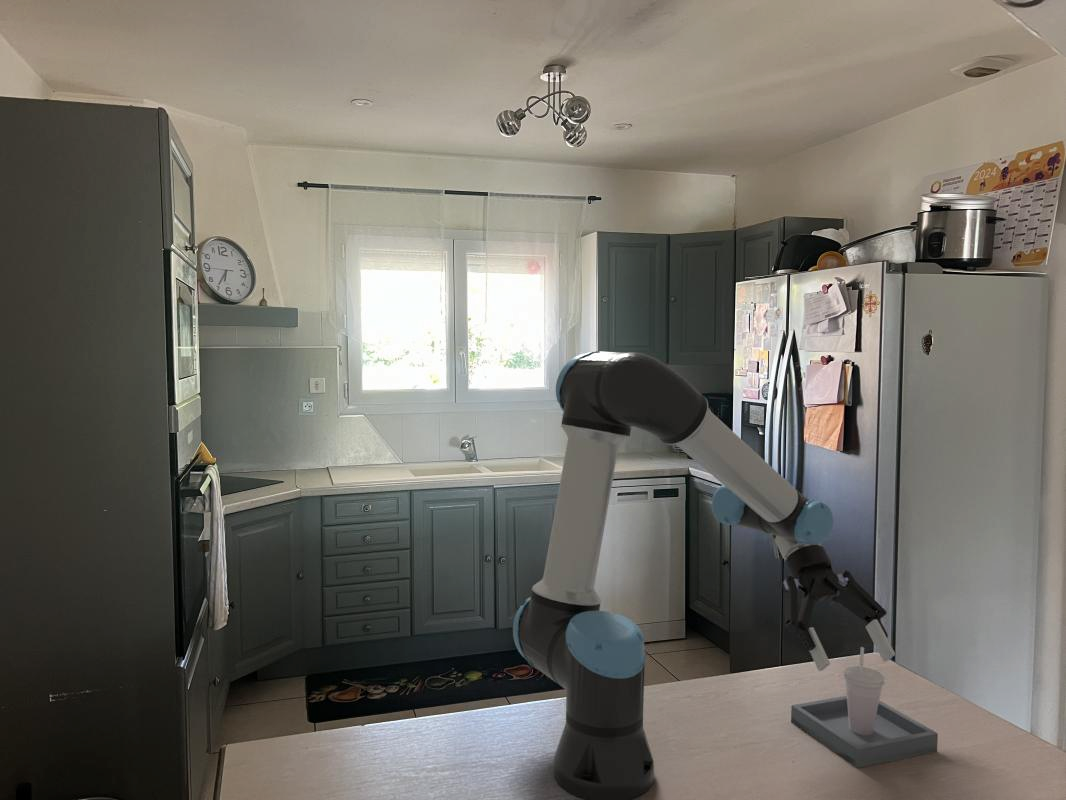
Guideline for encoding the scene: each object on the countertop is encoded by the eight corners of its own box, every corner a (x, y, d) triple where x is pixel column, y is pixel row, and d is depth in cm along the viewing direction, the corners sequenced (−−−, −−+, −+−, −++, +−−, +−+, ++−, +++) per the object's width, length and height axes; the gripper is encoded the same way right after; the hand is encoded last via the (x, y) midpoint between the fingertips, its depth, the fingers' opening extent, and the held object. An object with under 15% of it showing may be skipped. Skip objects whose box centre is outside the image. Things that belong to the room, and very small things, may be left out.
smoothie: (852, 717, 137) (856, 638, 136) (888, 731, 132) (893, 650, 131) (833, 728, 133) (837, 646, 132) (870, 743, 128) (875, 659, 127)
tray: (857, 768, 122) (858, 749, 122) (791, 722, 137) (791, 705, 137) (937, 751, 127) (937, 733, 127) (864, 708, 143) (865, 692, 142)
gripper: (847, 558, 154) (902, 663, 141) (737, 568, 146) (785, 680, 133) (868, 538, 149) (928, 644, 136) (755, 547, 140) (807, 661, 127)
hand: (857, 662), depth 134 cm, fingers open, 13 cm apart
